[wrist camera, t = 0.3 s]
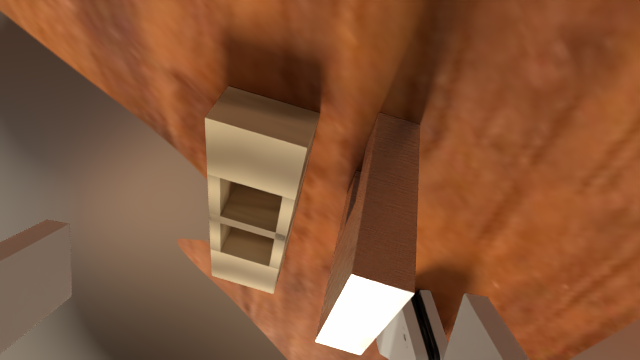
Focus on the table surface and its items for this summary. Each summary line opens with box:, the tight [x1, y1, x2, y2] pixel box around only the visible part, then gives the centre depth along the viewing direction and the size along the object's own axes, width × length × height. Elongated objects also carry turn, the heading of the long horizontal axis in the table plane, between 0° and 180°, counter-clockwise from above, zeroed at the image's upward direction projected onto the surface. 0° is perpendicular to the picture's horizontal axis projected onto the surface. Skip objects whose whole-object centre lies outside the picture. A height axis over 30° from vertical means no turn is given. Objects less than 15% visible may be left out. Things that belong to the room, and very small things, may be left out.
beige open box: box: [205, 86, 320, 294], centre depth 33 cm, size 22×7×4 cm, turn 169°
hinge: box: [377, 290, 448, 360], centre depth 44 cm, size 17×5×10 cm, turn 4°
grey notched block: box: [315, 113, 420, 355], centre depth 24 cm, size 9×3×13 cm, turn 169°
